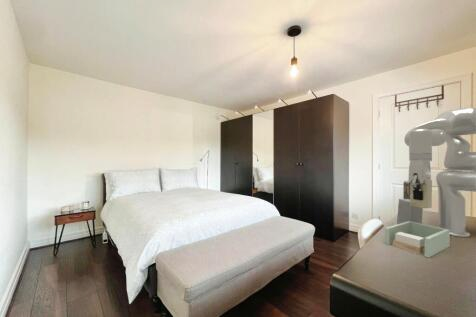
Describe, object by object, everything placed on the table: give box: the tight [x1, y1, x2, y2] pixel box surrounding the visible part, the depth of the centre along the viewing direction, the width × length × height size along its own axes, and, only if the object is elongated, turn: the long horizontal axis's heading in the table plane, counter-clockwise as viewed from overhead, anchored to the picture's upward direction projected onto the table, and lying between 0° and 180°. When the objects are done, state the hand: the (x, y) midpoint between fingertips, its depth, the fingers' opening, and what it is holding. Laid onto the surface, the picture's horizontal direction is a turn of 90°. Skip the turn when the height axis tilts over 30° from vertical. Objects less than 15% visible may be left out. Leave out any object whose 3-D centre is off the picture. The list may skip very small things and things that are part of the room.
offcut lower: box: [392, 239, 425, 255], centre depth 85 cm, size 5×9×3 cm, turn 29°
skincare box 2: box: [410, 179, 433, 209], centre depth 90 cm, size 6×4×12 cm
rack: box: [384, 221, 451, 258], centre depth 88 cm, size 22×14×7 cm, turn 120°
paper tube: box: [402, 180, 410, 200], centre depth 116 cm, size 7×7×25 cm
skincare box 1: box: [396, 198, 424, 225], centre depth 108 cm, size 8×7×16 cm
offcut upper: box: [395, 232, 425, 247], centre depth 84 cm, size 5×8×3 cm, turn 31°
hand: (420, 198), depth 90 cm, fingers closed on skincare box 2, 4 cm apart
